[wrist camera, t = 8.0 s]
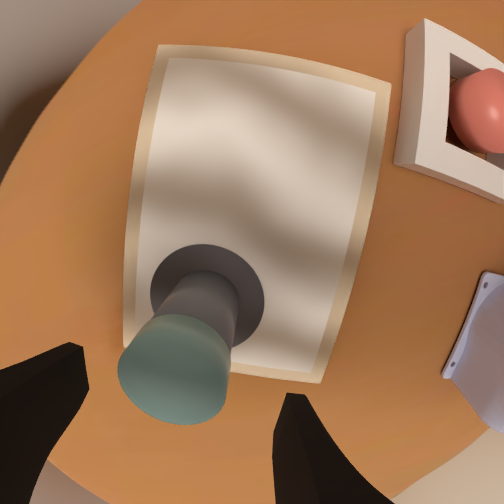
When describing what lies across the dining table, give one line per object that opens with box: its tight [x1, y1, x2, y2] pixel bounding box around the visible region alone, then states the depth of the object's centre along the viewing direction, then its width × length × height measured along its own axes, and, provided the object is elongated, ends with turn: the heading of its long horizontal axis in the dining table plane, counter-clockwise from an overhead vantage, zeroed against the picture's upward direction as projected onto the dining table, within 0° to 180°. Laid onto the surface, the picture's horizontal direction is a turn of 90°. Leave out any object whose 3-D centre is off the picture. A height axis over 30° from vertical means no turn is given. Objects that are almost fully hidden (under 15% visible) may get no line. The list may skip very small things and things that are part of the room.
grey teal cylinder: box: [118, 270, 239, 425], centre depth 14 cm, size 4×4×8 cm
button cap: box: [448, 68, 504, 153], centre depth 12 cm, size 5×5×3 cm
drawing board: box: [123, 45, 391, 383], centre depth 17 cm, size 20×14×1 cm
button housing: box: [393, 18, 504, 204], centre depth 14 cm, size 10×10×3 cm
